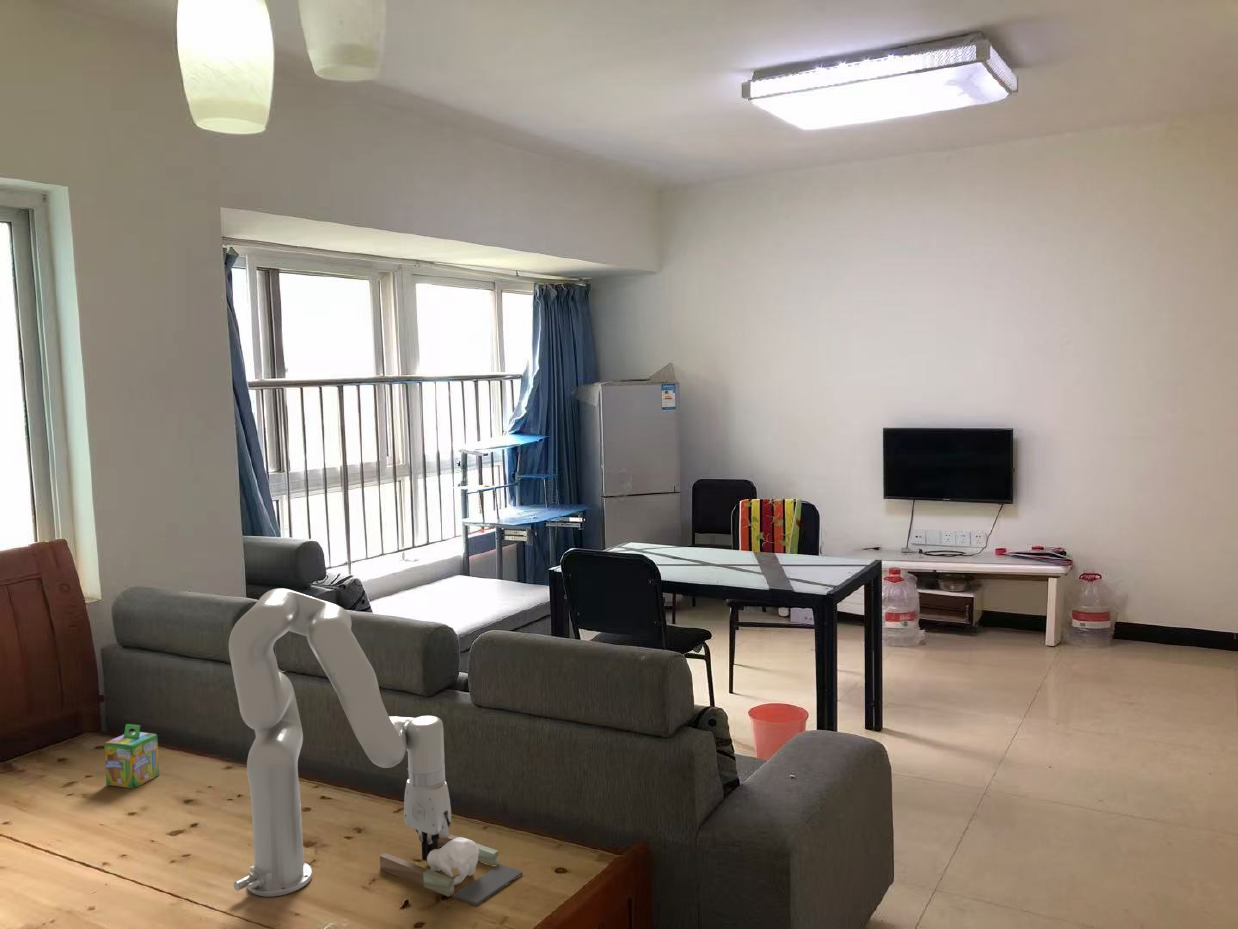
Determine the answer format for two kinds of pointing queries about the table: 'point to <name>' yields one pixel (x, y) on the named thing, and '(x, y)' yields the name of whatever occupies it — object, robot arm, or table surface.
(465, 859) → the white figurine
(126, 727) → the chalk box
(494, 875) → the mat
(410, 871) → the parallel bars
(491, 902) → the table surface
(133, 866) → the table surface
